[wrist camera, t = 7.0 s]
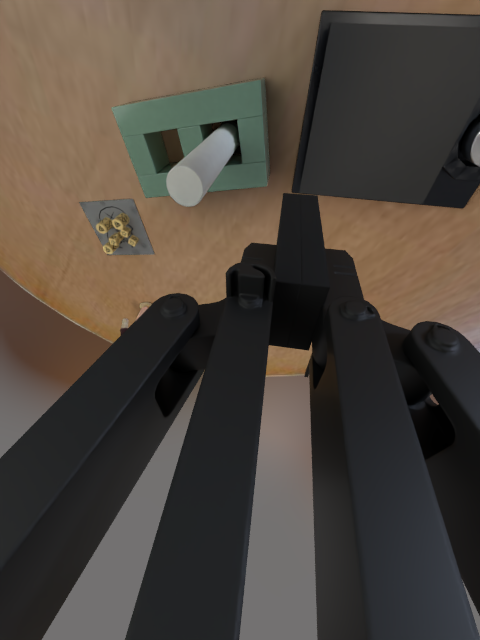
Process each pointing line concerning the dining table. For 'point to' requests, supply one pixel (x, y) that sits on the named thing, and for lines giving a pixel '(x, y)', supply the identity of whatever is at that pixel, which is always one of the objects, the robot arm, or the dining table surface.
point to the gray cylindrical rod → (202, 165)
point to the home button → (472, 143)
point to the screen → (390, 109)
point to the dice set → (118, 226)
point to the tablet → (456, 172)
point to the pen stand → (198, 133)
